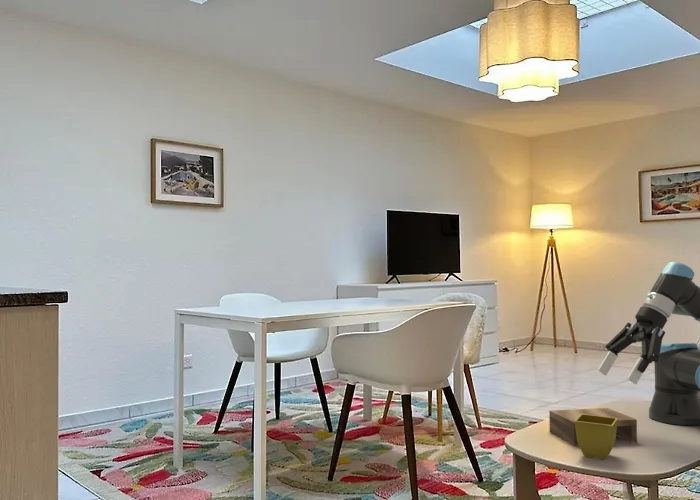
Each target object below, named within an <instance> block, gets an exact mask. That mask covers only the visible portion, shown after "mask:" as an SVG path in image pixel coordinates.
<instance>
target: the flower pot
mask: <svg viewBox="0 0 700 500" xmlns="http://www.w3.org/2000/svg"><path fill="white" fill-rule="evenodd" d="M617 421H618V419H617V418H612V417H603V416H595V415H587V414H581V415H580V416H579V417H578V418H577V419H576V420H575V428H576V436H577V442H578V447H579V450H580V452H581V453H582V455H583V456H584V457H585V458H586V457H587V458H594V459H600V460H607V459H608V457H609V455H610V453H611V452H612V450H613V448H614V445H615V442H616V437H617V435H616V430H617Z"/></svg>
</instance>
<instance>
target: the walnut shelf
mask: <svg viewBox="0 0 700 500" xmlns="http://www.w3.org/2000/svg"><path fill="white" fill-rule="evenodd" d="M548 412H549V416H548V417H549V433H550V432H551V434H553V436H555V437H558V438H559V437H560V438H559V439H561V440H563V441H565V442H567V443H569V444H571V445H572V446H575V447H576V446H578V447H579V445H578V442H577V436H576V428H575V420H576V419H577V418H578V417H579V416H580V415H581V414H587V415H595V416H603V417H612V418H617V419H618V421H617V430H616V437H619V438H621V439H623V440H625V441H628V442H629V443H637V442H638V425H637V422H638V419H636V418H635V417H631V416H629V415H627V414H625V413H622V412H619V411H616V410H613V409H611V408H609V407H600V408H580V409H578V408H577V409H555V410H553V409H552V410H549V411H548Z"/></svg>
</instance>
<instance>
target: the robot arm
mask: <svg viewBox="0 0 700 500" xmlns="http://www.w3.org/2000/svg"><path fill="white" fill-rule="evenodd" d="M694 276H695V271H694V270H693V268H691V267H690V266H688V265H687V264H685V263H681V262H680V261H679V262H678V261H670V262H667V264H666V265H665V267H664V268H663V270H662V271H660V273H659V275H658V277H657V279H656V281H655V282H654V284H653V286H652V288H651V289H650V290H649V291H648V292H647V294H646V297H645V300H644V301H643V303H642V306H640V307H639V309H638V311H637V313H636V314H635V319H636V321H635V324H634V325H633V324H632V323H631V322H627V323H626V324H625V325H624V327H623V328H622V329H621V330H620V331H619V332H618V333H617V334H616V335H614V337H613V338H612V339H611V340H610V341H609V342H608V343H606V345H605V346H604V347H605V349H607V353H606V354H605V356H604V358H603V360H602V362H601V363H600V365H599V366H598V368H597V372H600V373H601V374H602V375H603V376H607V375H608V373H609V371H611V368H612V366H613V365H614V363H615V362H616V360H617V358H618V357H619V353H621V352H622V351H624V350H625V349H626V348H628V347H629V346H631V345H632V344H636V343H637V342H638V343H641V355H639V357H638V358H637V360H636V362H635V364H634V366H633V367H632V368H631V370H630V372H629V374H628V376H627V377H626V379H627V381H628V380H629V381H630V382H631V383H633V384H634V385H638V383H639V381H640V379H641V378H642V375H643V374H644V373H645V371H646V370H647V369H648V367H649V365H650V364H652V363H654V394H653V397H652V400H651V403H650V406H649V408H648V418H650V419H652V420H654V421H656V422H660V423H665V424H671V425H678V426H679V425H680V426H699V425H700V397H699V392H700V349H699V347H698V344H697V343H692V342H691V343H689V342H685V343H684V342H682V343H679V342H678V343H677V342H676V343H672V342H671V343H663V338H664V337H665V334H666V331H665V330H663V329H664V327H665V325H666V323H667V322H668V319H669V318H671V316H672V315H677V316H678V315H679V316H685V317H692V318H693V319H694V320H695V321H696V322H699V323H700V283H699V284H697V283H695V282H694V281H693V280H694Z"/></svg>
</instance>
